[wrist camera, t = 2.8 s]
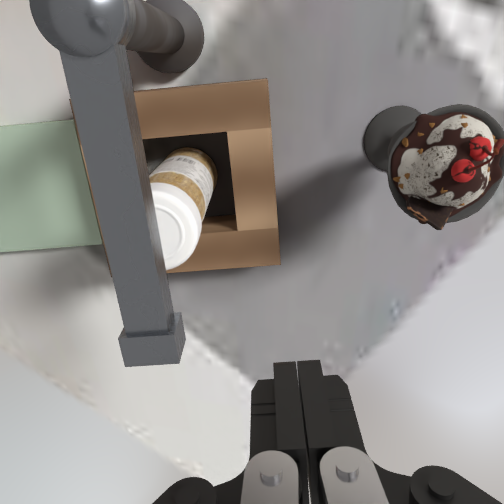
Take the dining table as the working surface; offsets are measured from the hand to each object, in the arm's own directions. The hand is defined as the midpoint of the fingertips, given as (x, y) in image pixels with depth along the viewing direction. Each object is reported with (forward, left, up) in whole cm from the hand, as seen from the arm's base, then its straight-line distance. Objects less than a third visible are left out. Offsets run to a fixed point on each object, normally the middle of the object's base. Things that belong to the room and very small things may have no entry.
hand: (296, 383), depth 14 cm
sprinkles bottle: (-2, -7, -24) cm, 25 cm away
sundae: (-3, +10, -24) cm, 26 cm away
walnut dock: (-5, -6, -23) cm, 25 cm away
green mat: (-2, -20, -23) cm, 31 cm away
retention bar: (-5, -6, -8) cm, 11 cm away
